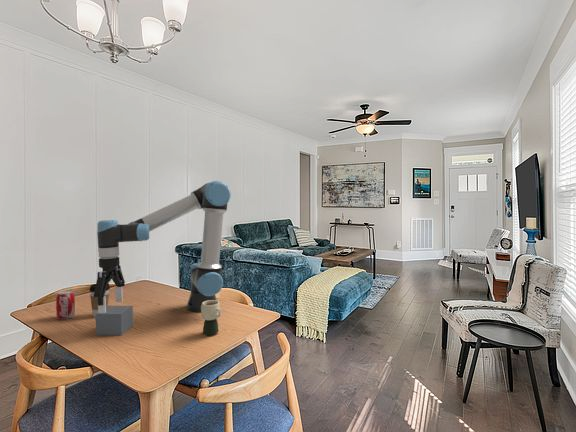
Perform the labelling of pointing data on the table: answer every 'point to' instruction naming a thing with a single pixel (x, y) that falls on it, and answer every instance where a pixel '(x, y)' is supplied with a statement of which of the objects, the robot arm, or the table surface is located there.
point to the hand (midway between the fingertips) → (111, 306)
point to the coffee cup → (95, 300)
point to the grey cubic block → (114, 320)
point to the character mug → (210, 316)
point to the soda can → (65, 305)
